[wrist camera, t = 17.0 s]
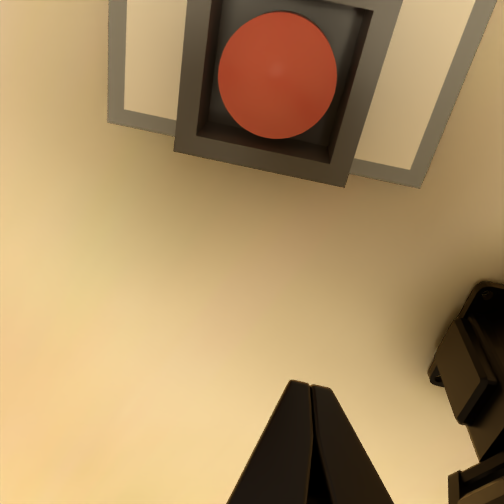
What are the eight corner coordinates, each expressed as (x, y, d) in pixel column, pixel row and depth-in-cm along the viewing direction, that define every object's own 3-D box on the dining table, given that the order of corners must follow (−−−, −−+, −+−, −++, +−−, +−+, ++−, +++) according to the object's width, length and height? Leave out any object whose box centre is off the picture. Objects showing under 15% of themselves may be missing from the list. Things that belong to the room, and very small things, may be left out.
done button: (346, 22, 14) (352, 27, 13) (318, 132, 16) (319, 149, 14) (237, -1, 14) (227, 0, 13) (221, 111, 16) (211, 126, 14)
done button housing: (390, -12, 15) (406, -13, 12) (339, 159, 18) (344, 187, 15) (212, -50, 15) (192, -58, 12) (192, 128, 18) (173, 151, 15)
